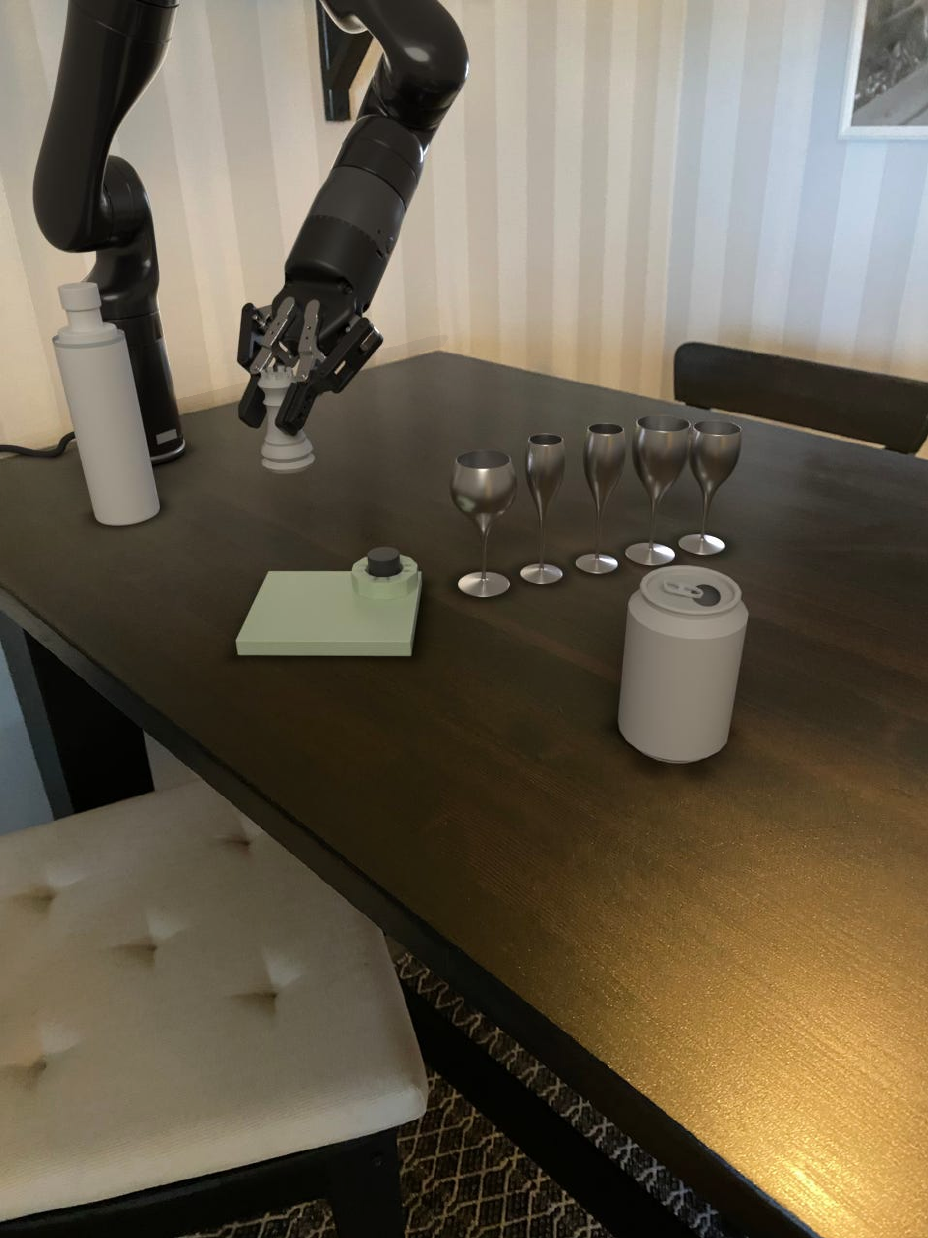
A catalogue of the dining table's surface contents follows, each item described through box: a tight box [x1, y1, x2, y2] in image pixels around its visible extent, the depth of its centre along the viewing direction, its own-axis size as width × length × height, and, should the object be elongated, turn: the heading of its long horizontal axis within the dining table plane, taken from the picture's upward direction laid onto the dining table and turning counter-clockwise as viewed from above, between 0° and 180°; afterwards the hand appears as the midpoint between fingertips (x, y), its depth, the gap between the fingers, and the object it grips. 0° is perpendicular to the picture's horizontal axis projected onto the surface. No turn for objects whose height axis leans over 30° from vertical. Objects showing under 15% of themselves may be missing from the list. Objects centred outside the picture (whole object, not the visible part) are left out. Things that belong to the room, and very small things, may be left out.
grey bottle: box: [51, 281, 161, 527], centre depth 91 cm, size 7×7×25 cm
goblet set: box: [449, 414, 742, 598], centre depth 82 cm, size 28×6×13 cm, turn 109°
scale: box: [235, 554, 423, 657], centre depth 77 cm, size 14×12×3 cm
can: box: [617, 564, 750, 764], centre depth 60 cm, size 8×8×12 cm
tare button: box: [366, 546, 401, 577], centre depth 78 cm, size 3×3×2 cm
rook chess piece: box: [258, 366, 316, 475], centre depth 74 cm, size 4×4×8 cm
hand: (266, 426), depth 72 cm, fingers closed on rook chess piece, 3 cm apart
